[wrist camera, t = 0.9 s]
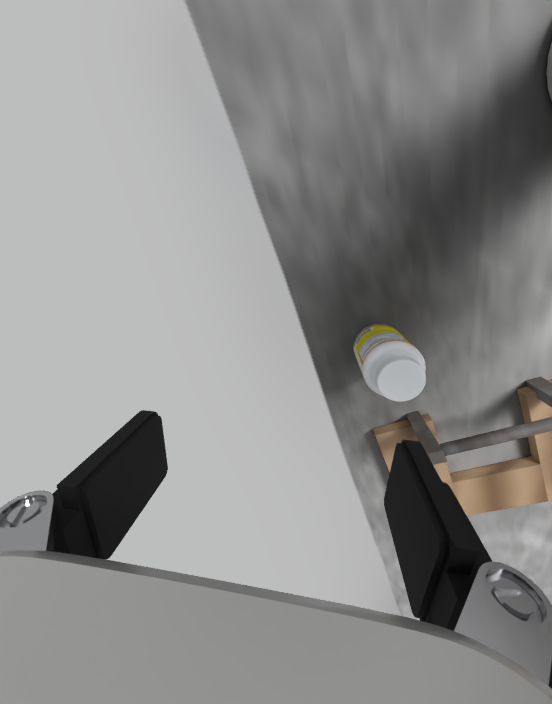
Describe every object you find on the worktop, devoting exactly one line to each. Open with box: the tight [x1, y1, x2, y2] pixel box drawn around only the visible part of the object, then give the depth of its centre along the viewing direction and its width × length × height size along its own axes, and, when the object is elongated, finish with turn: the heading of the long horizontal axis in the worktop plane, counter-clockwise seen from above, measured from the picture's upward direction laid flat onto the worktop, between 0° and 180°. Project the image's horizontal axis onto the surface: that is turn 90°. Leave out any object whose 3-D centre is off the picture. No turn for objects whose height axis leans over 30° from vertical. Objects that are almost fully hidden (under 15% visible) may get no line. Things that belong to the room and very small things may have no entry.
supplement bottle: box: [354, 324, 426, 402], centre depth 28 cm, size 6×6×10 cm
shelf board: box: [373, 377, 552, 516], centre depth 32 cm, size 24×17×8 cm
